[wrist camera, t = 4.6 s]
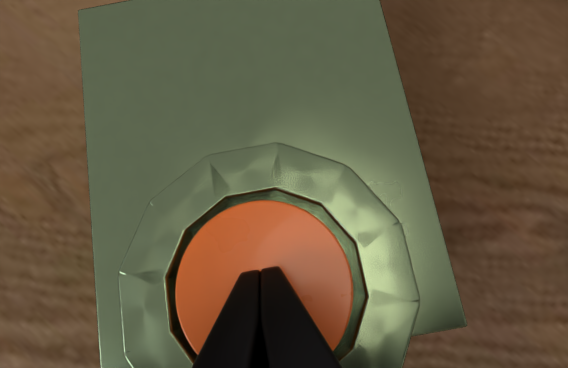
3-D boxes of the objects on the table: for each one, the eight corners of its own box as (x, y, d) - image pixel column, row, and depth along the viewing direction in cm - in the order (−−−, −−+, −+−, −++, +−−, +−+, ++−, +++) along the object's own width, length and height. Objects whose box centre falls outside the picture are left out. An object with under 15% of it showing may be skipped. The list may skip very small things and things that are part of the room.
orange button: (358, 347, 10) (372, 368, 8) (209, 374, 10) (185, 401, 8) (327, 200, 11) (333, 185, 9) (191, 225, 11) (165, 216, 9)
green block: (422, 343, 15) (525, 413, 8) (172, 388, 15) (60, 495, 8) (349, 43, 18) (378, -98, 11) (141, 82, 18) (40, -33, 11)
